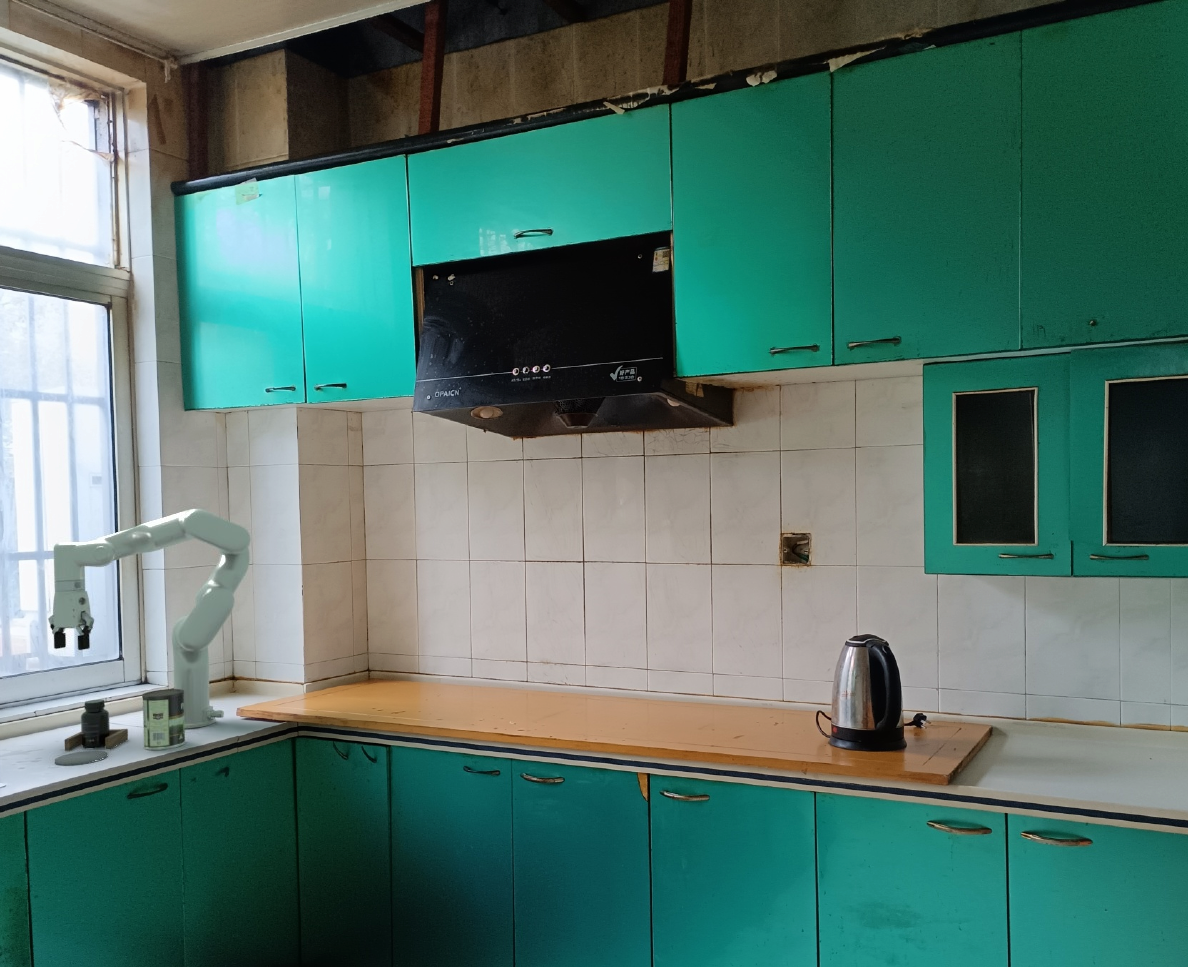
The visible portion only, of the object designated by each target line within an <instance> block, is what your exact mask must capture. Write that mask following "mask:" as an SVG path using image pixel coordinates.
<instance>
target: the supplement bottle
mask: <svg viewBox="0 0 1188 967" xmlns="http://www.w3.org/2000/svg"><path fill="white" fill-rule="evenodd" d="M105 707H106V703H105V700H104V699H100V698H99V699H92V700H86V701H85V702H84V710H85V711H84V712H82V714H81V715H80V730H81V731H80V732H81V736H82V745H81V747H82V748H83V749H86V748H93V749H99V748H105V738H107V737H109V736H110V729H111V728H110V712H109V711H108V709H106V708H105Z"/></svg>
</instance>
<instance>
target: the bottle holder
mask: <svg viewBox="0 0 1188 967" xmlns="http://www.w3.org/2000/svg"><path fill="white" fill-rule="evenodd" d="M126 740H127V741H128V740H129V730H128V728H115V729H114V728H110V736H109V737H107V738H105V746H104V748H105V749H110V750H111V748H112V749H114V748H115V746H116V745H117V746H119V745H121V744H123V743H125V742H126ZM63 742H64V751H65V752H70V751H72V750H74V749H76V748H78V747H80V746H82V736H81V731H80V732H77V733H75V734H73V735H71V736H69V737H67V738H64V740H63ZM120 743H121V744H120ZM117 746H116V747H117Z"/></svg>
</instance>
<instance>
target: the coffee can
mask: <svg viewBox="0 0 1188 967" xmlns="http://www.w3.org/2000/svg"><path fill="white" fill-rule="evenodd" d="M141 696H142V716H143V717H142V718H143V722H142V723H143V725H142V726H143V749H144V748H145V749H144V750H147V749H148V750H149V751H159V750H160V751H161V750H162V749H163V750H170V749H175V748H179V747H181V746H184V745H185V744H186V741H185V740H186V737H185V736H186V734H185V731H186V730H185V729H184V690H181V689H174V688H168V689H167V688H165V689H159V690H158V689H156V690H151V691H148V692H145V693H142V694H141ZM169 748H170V749H169Z"/></svg>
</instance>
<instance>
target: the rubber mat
mask: <svg viewBox="0 0 1188 967" xmlns="http://www.w3.org/2000/svg"><path fill="white" fill-rule="evenodd" d="M107 755H109V754H108V752H107V751H104V750H85V751H76V752H72V753H67V754H62V755H60V756H58V757H56V758H55V759H54V764H55V765H57V766H77V765H79V764H81V765H84V764H83V763H87V764H90V763H89V762H92V761H95V760H100V759H102V758H105V759H106V757H107V758H108V756H107ZM100 761H101V760H100ZM92 763H93V762H92Z"/></svg>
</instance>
